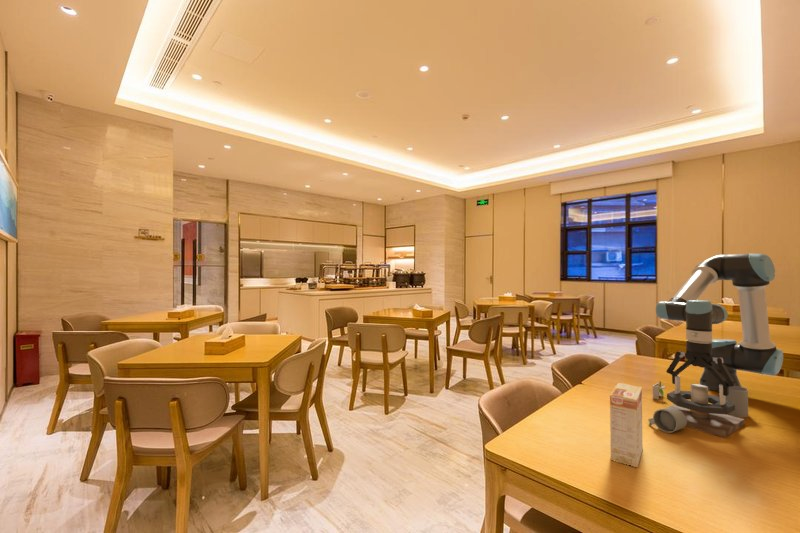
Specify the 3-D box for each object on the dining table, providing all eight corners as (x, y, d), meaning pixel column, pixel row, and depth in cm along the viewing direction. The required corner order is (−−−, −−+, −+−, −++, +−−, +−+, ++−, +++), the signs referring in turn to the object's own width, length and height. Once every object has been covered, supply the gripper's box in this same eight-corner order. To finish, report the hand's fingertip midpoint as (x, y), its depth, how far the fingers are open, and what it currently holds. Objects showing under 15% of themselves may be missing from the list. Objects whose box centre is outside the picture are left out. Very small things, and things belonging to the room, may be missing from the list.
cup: (753, 418, 137) (753, 391, 137) (728, 416, 139) (728, 390, 139) (737, 409, 145) (737, 384, 146) (714, 408, 147) (714, 383, 147)
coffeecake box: (617, 441, 118) (617, 382, 118) (643, 448, 114) (643, 386, 114) (609, 460, 107) (608, 394, 107) (637, 468, 102) (637, 399, 102)
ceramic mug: (689, 431, 126) (688, 409, 126) (677, 436, 122) (676, 413, 122) (655, 420, 135) (654, 400, 135) (643, 425, 131) (643, 404, 131)
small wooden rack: (668, 398, 160) (668, 380, 160) (663, 401, 155) (663, 383, 156) (658, 395, 163) (658, 378, 163) (652, 399, 159) (652, 380, 159)
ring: (681, 392, 147) (680, 388, 147) (739, 407, 132) (739, 401, 132) (660, 401, 137) (660, 396, 137) (721, 417, 122) (721, 412, 122)
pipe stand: (679, 406, 148) (679, 375, 148) (744, 424, 131) (744, 388, 131) (656, 417, 138) (656, 383, 138) (724, 438, 121) (724, 399, 121)
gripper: (656, 337, 143) (656, 390, 143) (739, 348, 122) (740, 411, 122) (665, 335, 147) (665, 387, 147) (747, 346, 126) (747, 407, 126)
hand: (699, 398), depth 134 cm, fingers open, 13 cm apart
